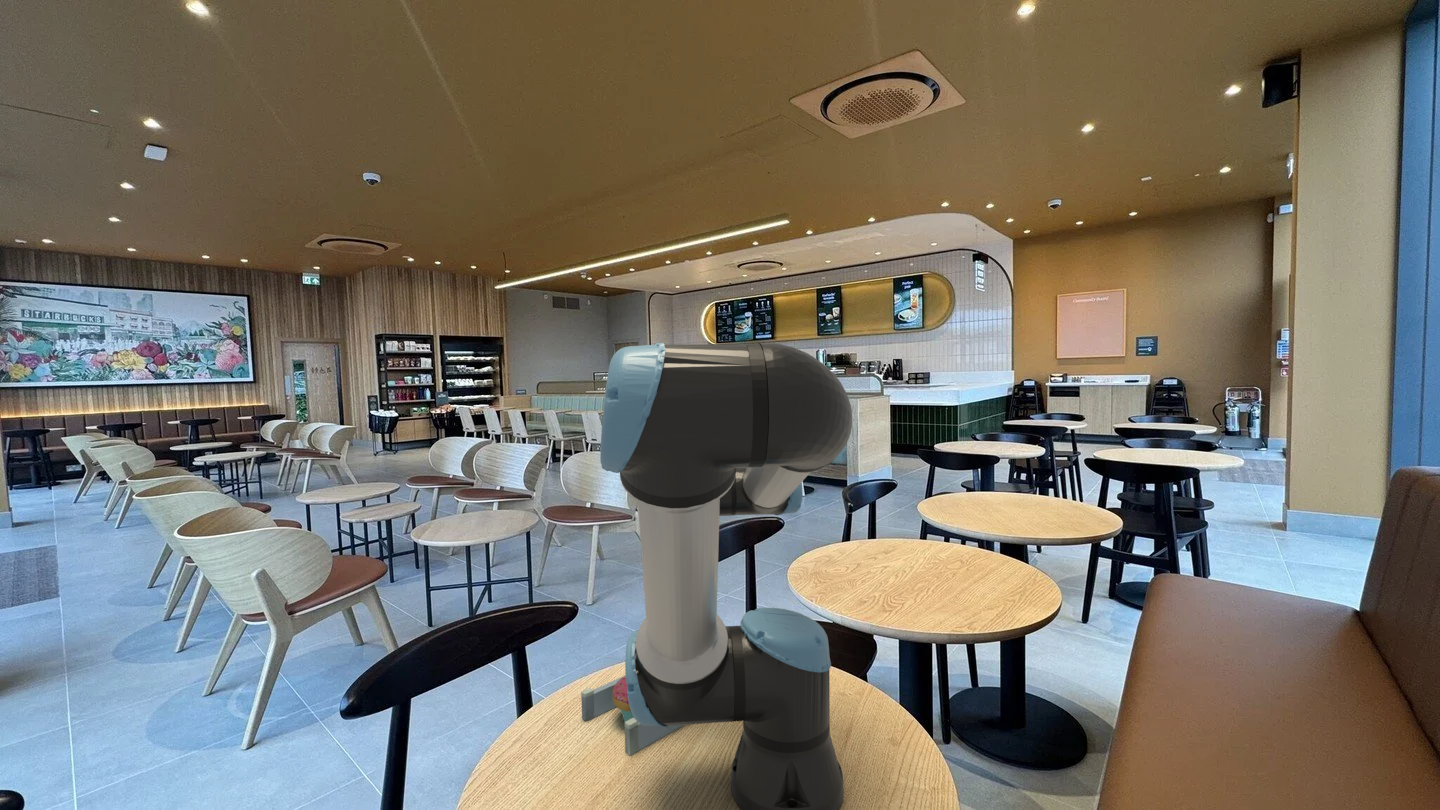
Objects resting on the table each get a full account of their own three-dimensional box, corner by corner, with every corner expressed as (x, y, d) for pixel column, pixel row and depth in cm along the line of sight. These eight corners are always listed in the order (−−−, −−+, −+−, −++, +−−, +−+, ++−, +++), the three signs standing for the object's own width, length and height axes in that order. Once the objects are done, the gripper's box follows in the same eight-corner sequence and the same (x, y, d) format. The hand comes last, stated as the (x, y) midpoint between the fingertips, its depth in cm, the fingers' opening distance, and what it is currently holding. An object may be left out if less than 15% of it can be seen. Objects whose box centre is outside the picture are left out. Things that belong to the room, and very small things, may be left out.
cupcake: (655, 737, 90) (653, 662, 90) (603, 731, 92) (601, 657, 91) (670, 706, 99) (669, 637, 98) (623, 701, 100) (621, 634, 100)
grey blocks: (699, 716, 96) (699, 688, 96) (630, 755, 86) (629, 725, 86) (649, 686, 105) (649, 661, 105) (582, 718, 96) (581, 691, 95)
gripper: (696, 525, 109) (699, 648, 110) (640, 539, 99) (643, 673, 101) (725, 532, 103) (727, 661, 104) (668, 548, 94) (671, 690, 95)
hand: (686, 667), depth 103 cm, fingers closed
